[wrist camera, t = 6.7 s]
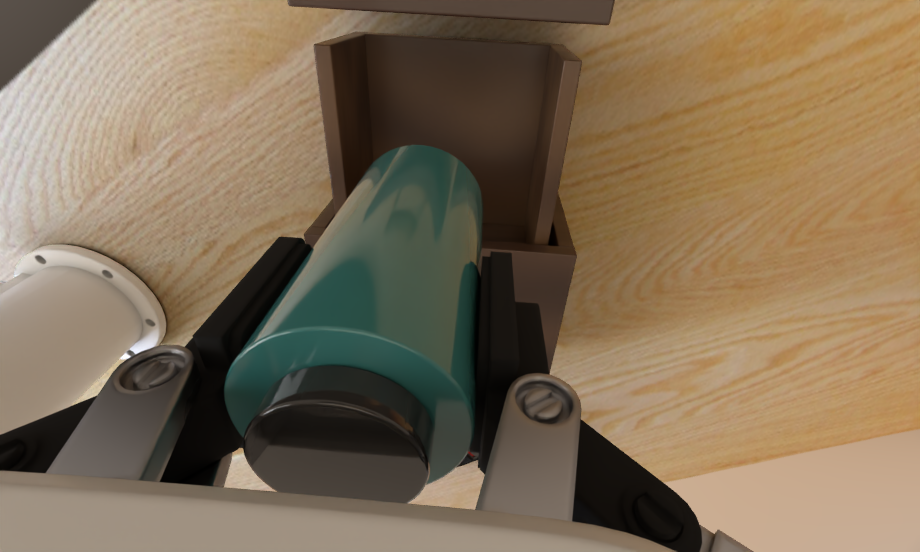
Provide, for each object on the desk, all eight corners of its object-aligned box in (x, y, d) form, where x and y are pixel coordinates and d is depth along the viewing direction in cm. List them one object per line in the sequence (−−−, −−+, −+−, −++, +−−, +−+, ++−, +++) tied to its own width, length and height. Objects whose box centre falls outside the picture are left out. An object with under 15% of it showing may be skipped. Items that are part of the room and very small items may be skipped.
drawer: (328, -130, 21) (260, -178, 15) (604, -116, 21) (648, -160, 15) (360, 215, 32) (326, 269, 26) (543, 230, 31) (554, 288, 25)
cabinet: (352, 173, 31) (303, 234, 23) (557, 188, 31) (577, 255, 23) (367, 337, 40) (336, 420, 32) (527, 350, 39) (534, 439, 32)
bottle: (354, 245, 16) (209, 512, 8) (365, 130, 14) (175, 337, 6) (467, 270, 17) (443, 552, 8) (497, 162, 14) (507, 405, 6)
